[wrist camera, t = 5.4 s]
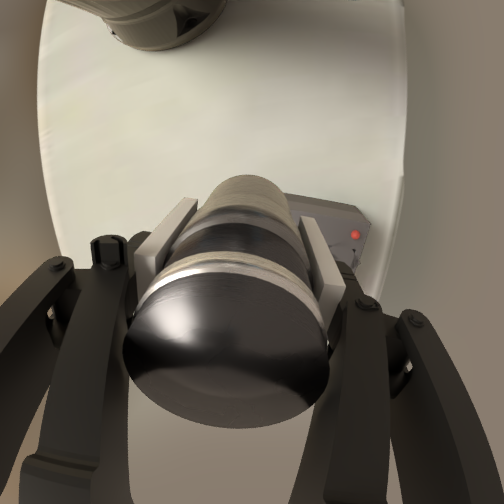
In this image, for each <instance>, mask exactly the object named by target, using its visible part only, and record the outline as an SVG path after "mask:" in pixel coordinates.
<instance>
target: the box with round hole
mask: <svg viewBox="0 0 504 504" xmlns="http://www.w3.org/2000/svg"><path fill="white" fill-rule="evenodd" d="M283 194H284V196H285V197H286V199H287V202H288V205H289V208H290V211H291V215H292V218H293V220H294V222H295V223H296V225H297V227H298V225H299V221H300V216H305V217H311V218H314V219H315V221H316V223H317V225H318V227H319V229H320V231H321V233H322V235H323V237H324V239H325V241H326V243H327V245H328V248H329V250H330V252H331V254H332V256H333V258H334V260H336V261H342V262H345V263H346V264H347V265H348V266H349V267H350V268H351V269H352V271H353V273H355V270H356V267H357V266H358V265H359V264H361V263H360V262H359V259H360V256H361V253H362V250H363V247H364V244H365V241H366V238H367V234H368V231H369V228H370V225H371V224H370V222H369V221H368V220H367V219H366V218H365V217H364V216H363V214H362V213H361V212H360V211H359V210H358V209H357V208H356V207H355V206H353V205H348V204H343V203H338V202H332V201H327V200H322V199H316V198H311V197H305V196H299V195H293V194H287V193H283ZM327 340H328V337H327Z"/></svg>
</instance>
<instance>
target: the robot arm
mask: <svg viewBox="0 0 504 504" xmlns="http://www.w3.org/2000/svg"><path fill="white" fill-rule="evenodd" d="M57 1H60V2H63V3H66V4H69V5H71V6H74V7H77V8H79V9H82V10H85V11H87V12H90V13H92V14H94V15H97V16H99V17H101V18H102V19H103V21H104V22H105V23H106V25H107V28H108V29H109V31H110V33H111V34H112V35H113V36H114V37H115V38H116V39H117V40H118V41H120V42H122V43H123V44H126V45H128V46H130V47H133V48H136V49H139V50H145V51H159V50H165V49H170V48H174V47H177V46H179V45H182V44H184V43H186V42H188V41H190V40H192V39H194V38H196V37H197V36H199V35H200V34H202V33H203V32H204V31H205V30H207V29H208V28H209V27H210V26H211V25H212V24H213V23H214V22H215V21H216V19H217V18H218V17H219V15H220V14H221V12H222V10H223V8H224V6H225V4H226V0H57ZM197 204H198V199H192V198H185V197H184V198H183V199H182V200H181V201H180V202H179V203H178V205H177V206H176V207H175V208H174V209H173V210H172V211H171V212H170V213H169V214H168V215H167V216H166V217H165V219H164V220H163V221H162V222H161V223H160V224H159V225H158V226H157V227H156V228H155V230H154V231H153V232H146V231H142V232H140V233H137V234H135V235H134V236H133V237H132V238H131V239H130V240H129V241H128V242H127V240H126V239H125V238H124V237H121V236H119V235H104V236H100V237H97V238H95V239H93V240H92V241H91V242H90V244H91V253H92V261H93V265H92V267H91V269H74V264H73V260H72V259H71V258H68V257H65V256H58V257H57V256H56V257H53V258H51V259H49V260H47V261H46V262H44V263H43V264H42V265H41V266H40V267H39V268H38V269H37V270H36V271H34V272H33V273H32V274H31V275H30V276H29V277H28V278H27V279H26V280H25V281H24V282H23V283H22V284H21V285H20V286H19V287H18V288H17V290H15V291H14V292H13V293H12V295H11V296H10V297H9V298H8V299H7V300H6V301H5V302H4V303H3V304H2V305H1V306H0V496H1V494H2V492H3V490H4V488H5V486H6V483H7V481H8V478H9V476H10V473H11V470H12V467H13V465H14V462H15V459H16V457H17V454H18V452H19V449H20V447H21V444H22V442H23V440H24V437H25V435H26V432H27V430H28V428H29V426H30V424H31V421H32V419H33V417H34V415H35V413H36V411H37V409H38V406H39V405H40V403H41V401H42V399H43V397H44V395H45V393H46V391H47V389H48V387H49V385H50V387H49V391H48V396H47V400H46V405H45V410H44V415H43V420H42V425H41V431H40V438H39V445H38V449H37V451H36V453H35V454H32V455H29V456H27V457H26V458H25V460H24V461H23V463H22V467H21V471H20V483H19V504H134V503H133V500H132V498H131V493H130V486H129V470H128V441H127V440H128V428H127V427H128V423H127V422H128V392H129V374H128V372H127V370H126V367H125V364H124V361H123V354H122V349H123V342H124V338H125V335H126V334H127V332H128V330H129V328H130V326H131V324H132V322H133V313H134V311H135V309H136V307H137V305H138V304H139V302H140V300H141V298H142V296H143V295H144V293H145V291H146V290H147V288H148V286H149V285H150V283H151V282H152V281H153V279H154V278H155V277H156V276H157V275H158V274H159V273H160V272H161V271H162V270H163V264H164V261H165V258H166V256H167V254H168V252H169V250H170V249H171V247H172V245H173V244H174V242H175V241H176V239H177V238H178V236H179V235H180V233H181V232H182V230H183V229H184V227H185V226H186V225H187V223H188V222H189V220H190V219H191V217H192V216H193V215H194V214H195V213H196V211H197ZM298 229H299V231H300V234H301V237H302V240H303V243H304V247H305V250H306V253H307V257H308V260H309V263H310V267H311V271H312V275H313V283H314V288H313V295H314V296H315V298H316V300H317V302H318V304H319V307H320V309H321V313H322V317H323V321H324V325H325V329H326V334H327V337H328V341H329V344H328V346H327V355H328V360H329V365H330V377H329V381H328V384H327V386H326V389H325V391H324V392H323V394H322V395H321V396H320V398H319V399H318V400H317V401H316V402H315V406H314V410H313V415H312V419H311V424H310V428H309V432H308V436H307V441H306V444H305V448H304V452H303V456H302V459H301V463H300V467H299V470H298V474H297V477H296V481H295V484H294V487H293V490H292V493H291V497H290V500H289V503H288V504H388V503H387V501H386V493H387V483H388V471H389V455H390V438H391V442H392V446H393V451H394V456H395V461H396V466H397V471H398V476H399V482H400V488H401V495H402V501H403V504H504V493H503V489H502V484H501V481H500V477H499V474H498V470H497V467H496V463H495V460H494V457H493V454H492V451H491V448H490V446H489V443H488V440H487V437H486V434H485V432H484V430H483V427H482V424H481V422H480V419H479V417H478V415H477V412H476V410H475V407H474V405H473V403H472V401H471V399H470V396H469V394H468V392H467V390H466V388H465V386H464V384H463V382H462V380H461V377H460V375H459V373H458V371H457V369H456V368H455V366H454V364H453V362H452V360H451V358H450V356H449V354H448V353H447V351H446V349H445V347H444V345H443V344H442V342H441V340H440V338H439V337H438V335H437V333H436V331H435V329H434V328H433V326H432V324H431V323H430V321H429V320H428V319H427V318H426V317H425V316H424V315H423V314H422V313H420V312H418V311H416V310H411V309H406V310H404V311H402V313H401V315H400V317H399V318H396V317H393V316H389V315H386V314H383V313H382V308H381V306H380V304H379V303H378V302H377V301H376V300H375V299H373V298H372V297H370V296H367V295H365V294H364V293H363V291H362V289H361V287H360V285H359V283H358V281H357V279H356V277H355V276H354V273H353V271H352V269H351V268H350V267H349V266H348V265H347V264H346V263H345V262H342V261H336V260H334V258H333V256H332V254H331V252H330V250H329V248H328V245H327V243H326V241H325V239H324V237H323V235H322V233H321V231H320V229H319V227H318V225H317V223H316V221H315V219H314V218H311V217H305V216H300V221H299V225H298ZM50 308H51V309H52V312H53V314H52V315H51V316H50V317H48V315H47V312H48V310H49V309H50ZM410 361H411V363H412V366H413V368H412V369H411V370H410V371H408V370H407V367H406V366H407V365H408V363H409V362H410Z"/></svg>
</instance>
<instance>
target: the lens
mask: <svg viewBox="0 0 504 504" xmlns="http://www.w3.org/2000/svg"><path fill="white" fill-rule="evenodd" d="M313 288H314V283H313V275H312V271H311V267H310V263H309V260H308V257H307V253H306V250H305V247H304V243H303V240H302V237H301V234H300V231H299V229H298V227H297V225H296V223H295V222H294V220H293V218H292V215H291V211H290V208H289V205H288V202H287V199H286V197H285V196H284V194H283V192H282V191H281V190H280V189H279V188H278V187H277V186H276V185H275V184H274V183H272V182H271V181H269V180H267V179H265V178H263V177H260V176H255V175H239V176H235V177H231V178H229V179H227V180H225V181H224V182H222V183H221V184H220V185H218V186H217V187H216V188H215V189H214V191H213V192H212V193H211V195H210V196H209V198H208V199H207V201H206V202H205V204H204V205H203V206H202V207H201V208H200V209H199V210H197V211H196V213H195V214H194V215H193V216H192V217H191V219H190V220H189V222H188V223H187V225H186V226H185V227H184V229H183V230H182V232H181V233H180V235H179V236H178V238H177V239H176V241H175V242H174V244H173V245H172V247H171V249H170V250H169V252H168V254H167V256H166V258H165V261H164V264H163V270H162V271H161V272H160V273H159V274H158V275H157V276H156V277H155V278H154V279H153V281H152V282H151V283H150V285H149V286H148V288H147V290H146V291H145V293H144V295H143V296H142V298H141V300H140V302H139V304H138V305H137V307H136V309H135V313H134V316H133V322H132V324H131V326H130V328H129V330H128V332H127V334H126V335H125V338H124V342H123V349H122V354H123V361H124V364H125V367H126V370H127V372H128V374H129V375H130V377H131V379H132V380H133V382H134V383H135V384H136V385H137V387H138V388H139V389H140V390H141V391H142V392H143V393H144V394H145V395H146V396H147V397H148V398H149V399H151V400H152V401H153V402H155V403H156V404H157V405H159V406H161V407H162V408H164V409H165V410H167V411H169V412H171V413H173V414H175V415H177V416H180V417H182V418H184V419H187V420H190V421H193V422H196V423H200V424H204V425H209V426H214V427H222V428H236V429H240V428H256V427H263V426H269V425H272V424H276V423H280V422H283V421H286V420H288V419H291V418H293V417H295V416H297V415H299V414H300V413H302V412H304V411H305V410H307V409H308V408H309V407H311V406H312V405H313V404H314V403H315V402H316V401H317V400H318V399H319V398H320V396H321V395H322V394H323V392H324V391H325V389H326V386H327V384H328V381H329V377H330V365H329V360H328V355H327V334H326V329H325V325H324V321H323V317H322V313H321V309H320V307H319V304H318V302H317V300H316V298H315V296H314V295H313Z"/></svg>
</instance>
